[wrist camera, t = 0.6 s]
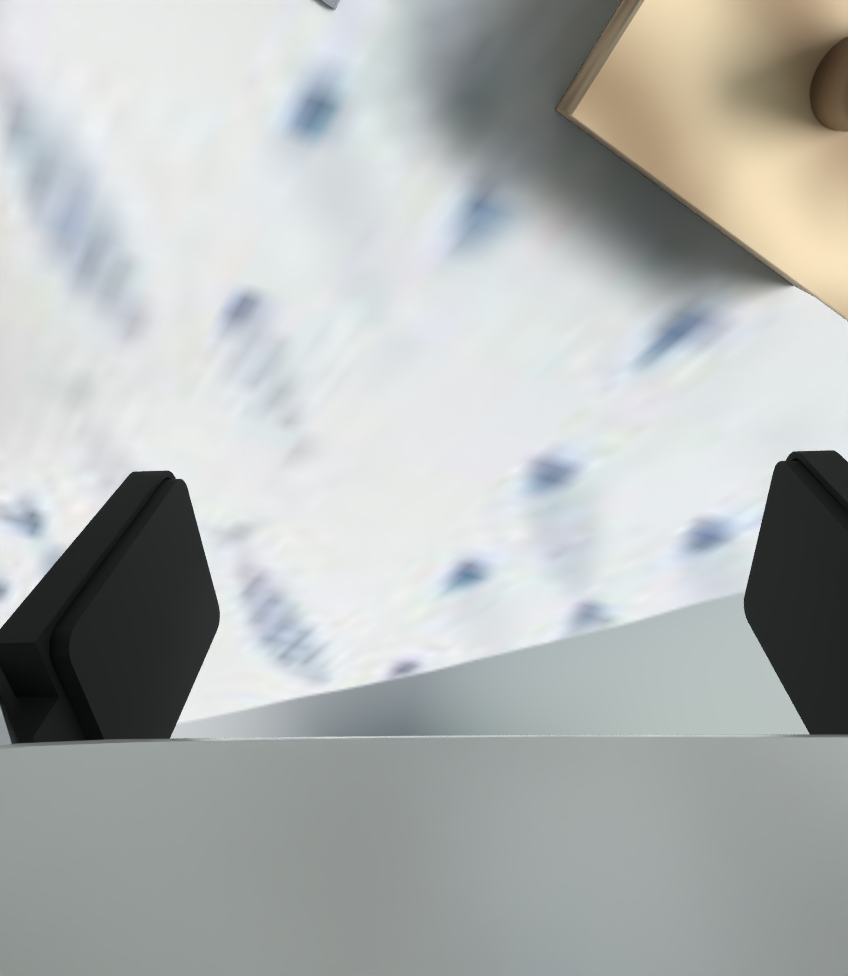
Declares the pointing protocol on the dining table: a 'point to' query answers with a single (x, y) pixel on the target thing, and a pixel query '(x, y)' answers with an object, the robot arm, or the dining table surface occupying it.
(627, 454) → the dining table surface
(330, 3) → the felt pad
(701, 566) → the dining table surface
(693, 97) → the lid
